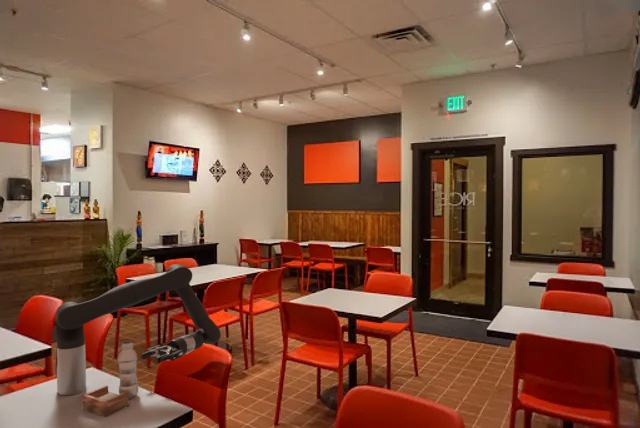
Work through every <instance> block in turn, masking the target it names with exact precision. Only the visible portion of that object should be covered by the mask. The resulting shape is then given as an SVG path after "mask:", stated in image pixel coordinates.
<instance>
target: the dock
mask: <svg viewBox="0 0 640 428" xmlns="http://www.w3.org/2000/svg"><path fill="white" fill-rule="evenodd" d="M127 407H130V398H129V392H127V391H126V392H124V393H122V394H120V395H119V393H115V392H111V391H109V386H108V385H107V384H106V385H103V386H101V387H99V388H97V389H96V388H95V389H94V390H92V391H90V392H87V393H85V394H83V395H82V410H83V411H85V412H88V413H92V414H95V415H98V416H100V417H103V418H107V417H109V416H112V415H113V414H116V413H118V412H120V411H122V410H124V409H126V408H127Z"/></svg>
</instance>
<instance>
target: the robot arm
mask: <svg viewBox="0 0 640 428" xmlns="http://www.w3.org/2000/svg"><path fill="white" fill-rule="evenodd" d="M192 280H193V272H192V270H191V269H190V268H189V267H187V266H186V265H183V264H179V263H175V264H171V265H170V266H168V268H167V269H166V272H165V273H163V274H161V275H157V276H154V277H148V278H141V279H136V280H131V281H128V282H125V283H122V284H121V285H117V286H115V287H113V288H112V289H110V290H108V291H106V292H105V293H103V294H101V295H100V296H98V297H95V298H93V299H90V300H88V301H84V302H79V303H77V302H76V301H66V302H63V303H61V304H60V306H58V307H57V309H56V311H55V339H56V355H57V356H56V357H57V359H56V360H57V365H56V386H57V388H56V389H57V394H58V395H60V396H73V395H76V394H80V393H82V392H85V390H86V389H87V366H86V365H87V364H86V361H87V360H86V337H85V330H84V329H85V327H84V325H86V324H89V322H92V321H94V320H96V319H98V318H100V317H104V316H106V315H110V314H113V313H115V312H118V311H120V310H121V311H122V310H123V309H126V308H129V307H133V306H135V305H137V304H139V303H143V302H145V301H147V300H149V299H152V298H154V297H156V296H159V295H161V294H163V293H167V292H171V291H174V290H175V292H176V294H177V296H178V297H179V299H180V300H181V302H182V303H183V305H184V307H185V310H186V312H187V313H188V315H189V317H190V320H191V322H192V323H193V325H194V326H195V327H196V328H198V329H197V330H196V331H194V332H191V333H189V334H185V335H182V336H179V337H177V338H173V339H170V340H169V341H168V343H167V344H166V345H163V346H161V345H160V344H158V345H155V346H152V347H149V348H148V347H147V349H146V352H143V353H141V355H140V356H141V358H140V359H141V360H146V359H148V358H151V357H152V358H153V357H156V363H157V364H160V363H162V362H165V361H167V362H168V361H170V362H173V361H176V360H177V359H180V358H182V357H183V356H185V355H188V354H190V353H191V352H193V351H195V350H198V349H200V348H202V347H203V346H204V345H206V344H217V343H218V342H219V341H220V340H221V336H222V333H221V330H220V328H219V326H218V325H217V324H216V323H215V322H214V321H213V319H211V318H210V316H209V314H208V312H207V310H206V309H205V307H204V304H203V303H202V302H201V300H200V299H199V298H198V296H197V294H196V292H195V291H194V290H193V288H192V286H191V284H190V283H191V281H192ZM203 343H205V344H203Z"/></svg>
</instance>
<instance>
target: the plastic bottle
mask: <svg viewBox="0 0 640 428" xmlns="http://www.w3.org/2000/svg"><path fill="white" fill-rule="evenodd" d="M121 349H122V350H121V351H120V352H119V354H118V355H117V362H118V367H119V386H118V394H119V395H120V394H122V393H124V392H126V391H127V392H129V399H133V398H135V397H136V396H137V395H138V393H139V384H138V378H137V362H138V354H137V352H136V351H135V350H134V341H133V340H128V341H123V342H121Z"/></svg>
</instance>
